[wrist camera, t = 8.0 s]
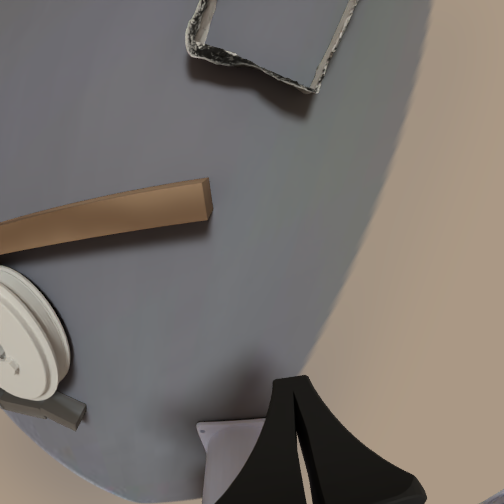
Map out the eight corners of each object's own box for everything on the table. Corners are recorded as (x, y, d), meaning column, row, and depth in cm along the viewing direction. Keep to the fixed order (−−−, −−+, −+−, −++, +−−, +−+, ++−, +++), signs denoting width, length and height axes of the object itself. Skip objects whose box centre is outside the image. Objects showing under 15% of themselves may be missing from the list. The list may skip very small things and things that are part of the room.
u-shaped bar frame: (249, 413, 25) (249, 438, 22) (15, 399, 26) (4, 415, 23) (208, 177, 19) (201, 182, 16) (-54, 240, 19) (-73, 249, 16)
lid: (86, 390, 25) (67, 426, 20) (-4, 361, 24) (-27, 386, 19) (62, 269, 21) (26, 298, 16) (-33, 253, 20) (-67, 272, 15)
